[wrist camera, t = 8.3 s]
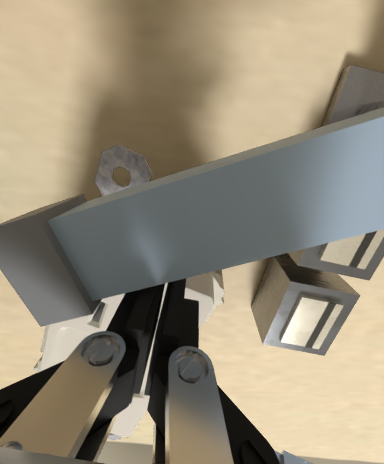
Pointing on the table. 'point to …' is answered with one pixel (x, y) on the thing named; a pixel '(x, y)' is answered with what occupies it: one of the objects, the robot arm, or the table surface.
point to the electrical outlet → (75, 330)
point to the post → (355, 94)
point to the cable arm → (199, 219)
